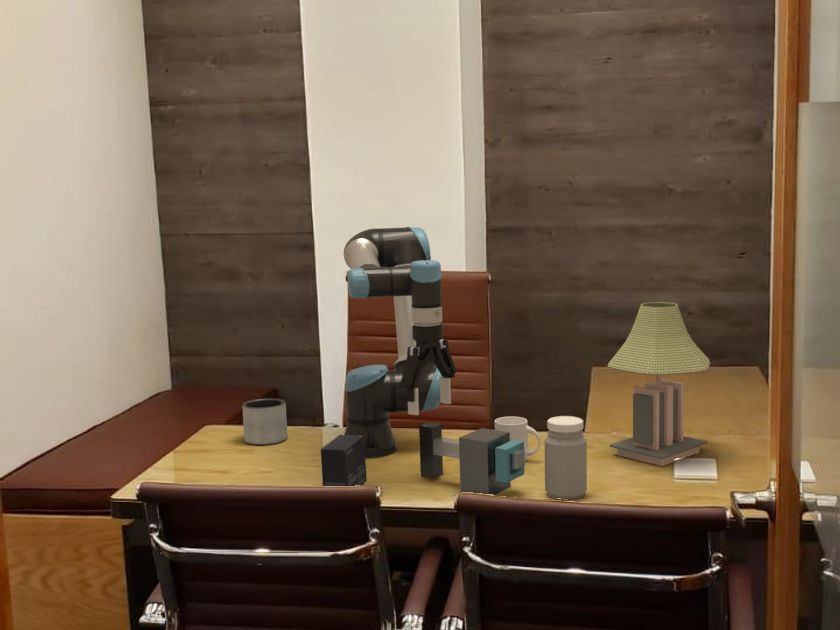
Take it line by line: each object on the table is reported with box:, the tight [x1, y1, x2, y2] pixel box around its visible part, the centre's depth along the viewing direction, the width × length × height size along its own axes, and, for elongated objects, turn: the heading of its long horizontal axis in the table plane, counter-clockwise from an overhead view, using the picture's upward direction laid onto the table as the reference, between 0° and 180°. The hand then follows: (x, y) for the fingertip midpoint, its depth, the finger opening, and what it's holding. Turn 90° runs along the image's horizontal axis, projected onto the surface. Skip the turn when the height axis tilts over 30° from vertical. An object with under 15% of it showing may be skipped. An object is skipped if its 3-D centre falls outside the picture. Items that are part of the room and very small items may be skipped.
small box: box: [320, 434, 368, 487], centre depth 251 cm, size 13×7×12 cm, turn 163°
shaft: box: [418, 421, 526, 480], centre depth 248 cm, size 28×4×13 cm, turn 54°
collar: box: [495, 440, 525, 483], centre depth 242 cm, size 3×8×8 cm, turn 144°
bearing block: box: [458, 427, 512, 496], centre depth 246 cm, size 8×10×14 cm
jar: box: [543, 415, 588, 500], centre depth 241 cm, size 10×10×18 cm
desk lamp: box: [607, 301, 711, 467], centre depth 270 cm, size 26×28×40 cm
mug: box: [494, 416, 541, 462], centre depth 270 cm, size 9×12×11 cm
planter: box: [242, 397, 288, 446], centre depth 297 cm, size 12×13×11 cm
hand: (430, 408), depth 254 cm, fingers open, 13 cm apart
